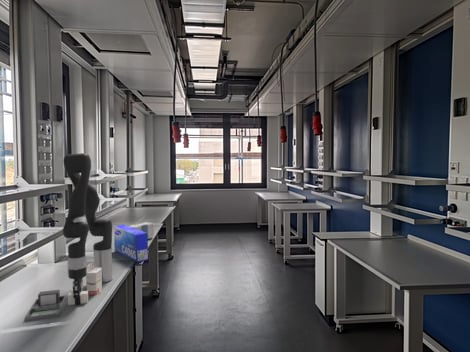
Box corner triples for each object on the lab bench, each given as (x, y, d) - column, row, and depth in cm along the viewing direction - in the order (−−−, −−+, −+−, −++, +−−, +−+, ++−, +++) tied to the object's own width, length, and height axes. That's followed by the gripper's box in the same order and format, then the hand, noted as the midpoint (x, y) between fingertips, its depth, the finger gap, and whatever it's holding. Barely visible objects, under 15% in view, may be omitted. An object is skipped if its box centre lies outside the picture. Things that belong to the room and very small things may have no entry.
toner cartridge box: (114, 251, 255) (113, 225, 254) (125, 249, 260) (124, 224, 260) (136, 263, 225) (135, 234, 224) (148, 260, 230) (148, 232, 229)
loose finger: (69, 304, 161) (69, 292, 160) (88, 302, 163) (88, 290, 163) (68, 308, 156) (67, 295, 156) (87, 305, 159) (87, 293, 159)
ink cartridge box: (97, 296, 169) (96, 266, 168) (86, 297, 168) (85, 266, 168) (102, 290, 177) (101, 261, 177) (92, 290, 177) (91, 261, 176)
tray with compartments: (36, 304, 160) (36, 299, 160) (66, 301, 164) (66, 295, 163) (24, 324, 141) (24, 317, 141) (58, 319, 145) (58, 313, 144)
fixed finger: (40, 303, 158) (40, 291, 158) (60, 301, 160) (59, 289, 160) (38, 307, 154) (37, 295, 154) (58, 305, 156) (58, 293, 156)
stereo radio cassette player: (135, 243, 278) (134, 218, 277) (127, 242, 282) (127, 217, 281) (154, 238, 296) (153, 214, 295) (147, 237, 300) (146, 214, 299)
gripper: (70, 262, 165) (71, 299, 165) (65, 271, 151) (66, 311, 152) (87, 261, 167) (88, 296, 168) (84, 270, 153) (85, 308, 154)
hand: (78, 303), depth 160 cm, fingers closed on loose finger, 4 cm apart
